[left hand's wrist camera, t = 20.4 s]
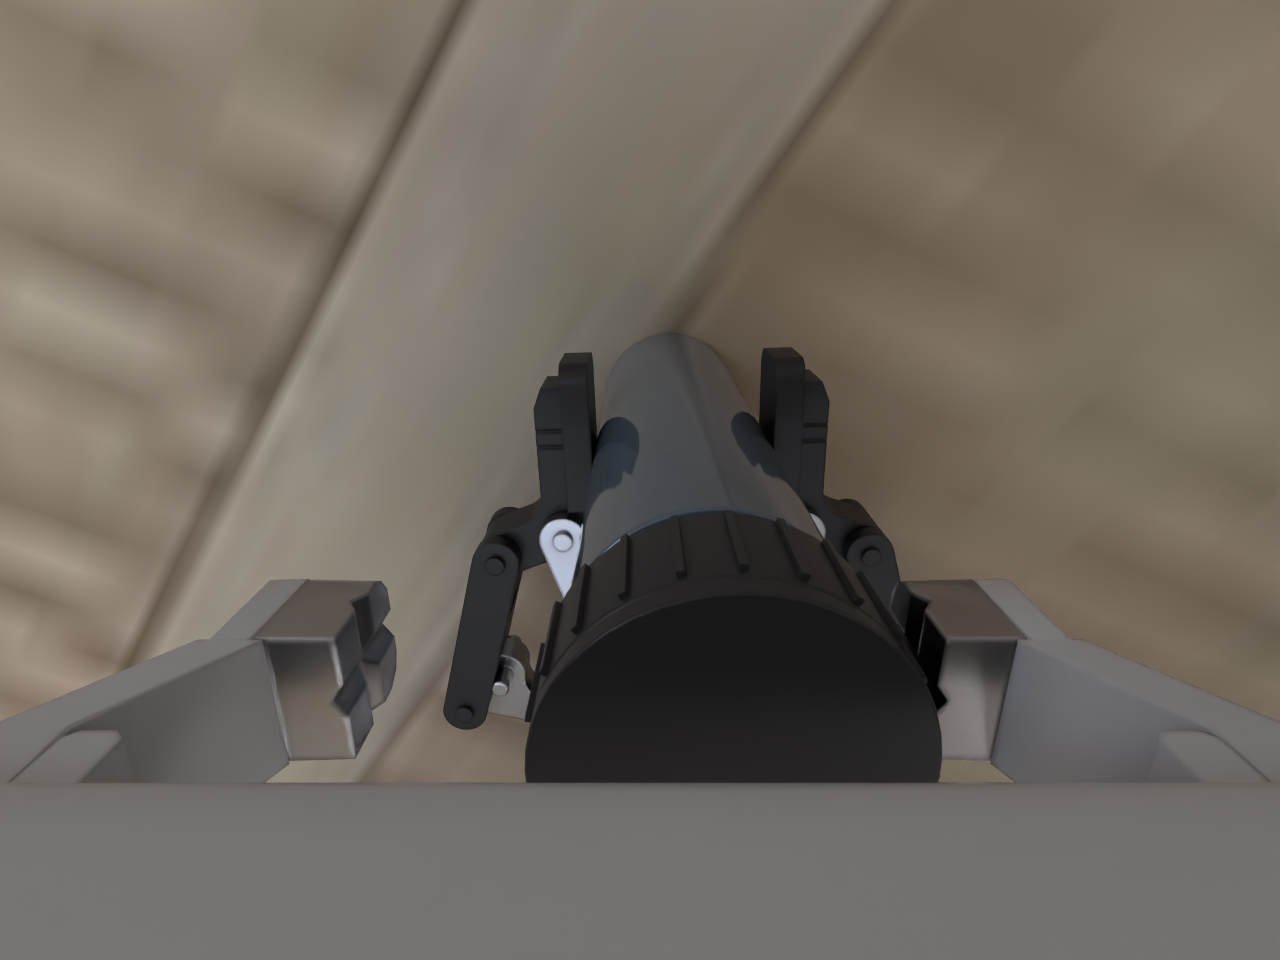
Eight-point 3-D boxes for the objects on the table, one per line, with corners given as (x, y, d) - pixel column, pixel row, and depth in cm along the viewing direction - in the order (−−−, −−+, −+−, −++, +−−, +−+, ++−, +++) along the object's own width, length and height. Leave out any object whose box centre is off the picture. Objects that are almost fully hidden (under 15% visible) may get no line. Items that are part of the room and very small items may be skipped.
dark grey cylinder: (643, 309, 24) (656, 508, 8) (757, 372, 24) (976, 669, 9) (583, 422, 25) (490, 786, 9) (692, 478, 26) (779, 902, 10)
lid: (887, 782, 11) (942, 910, 9) (568, 812, 11) (554, 943, 9) (891, 487, 9) (960, 563, 7) (512, 527, 9) (479, 614, 7)
